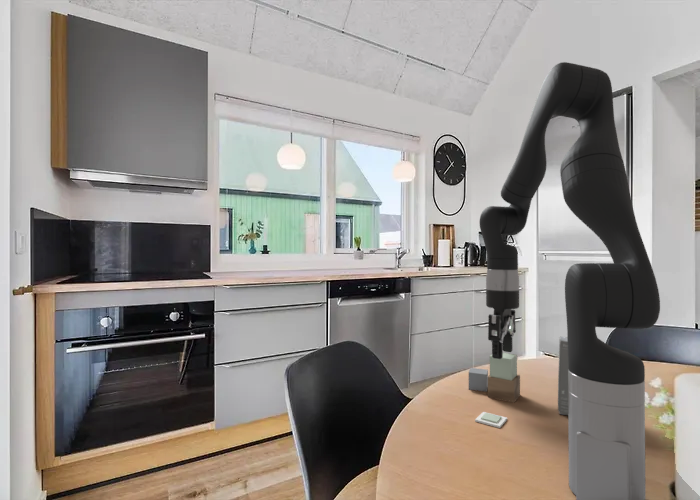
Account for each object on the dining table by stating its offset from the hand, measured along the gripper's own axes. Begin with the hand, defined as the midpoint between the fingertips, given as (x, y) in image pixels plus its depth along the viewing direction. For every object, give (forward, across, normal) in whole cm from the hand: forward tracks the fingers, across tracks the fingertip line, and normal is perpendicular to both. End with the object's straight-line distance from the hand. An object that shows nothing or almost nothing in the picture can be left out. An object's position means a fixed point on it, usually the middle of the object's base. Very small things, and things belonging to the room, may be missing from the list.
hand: (502, 354), depth 94 cm
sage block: (+5, 0, 0) cm, 5 cm away
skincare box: (+10, 0, -16) cm, 19 cm away
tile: (+10, -16, -2) cm, 19 cm away
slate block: (+10, +2, +7) cm, 12 cm away
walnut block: (+10, 0, 0) cm, 10 cm away
